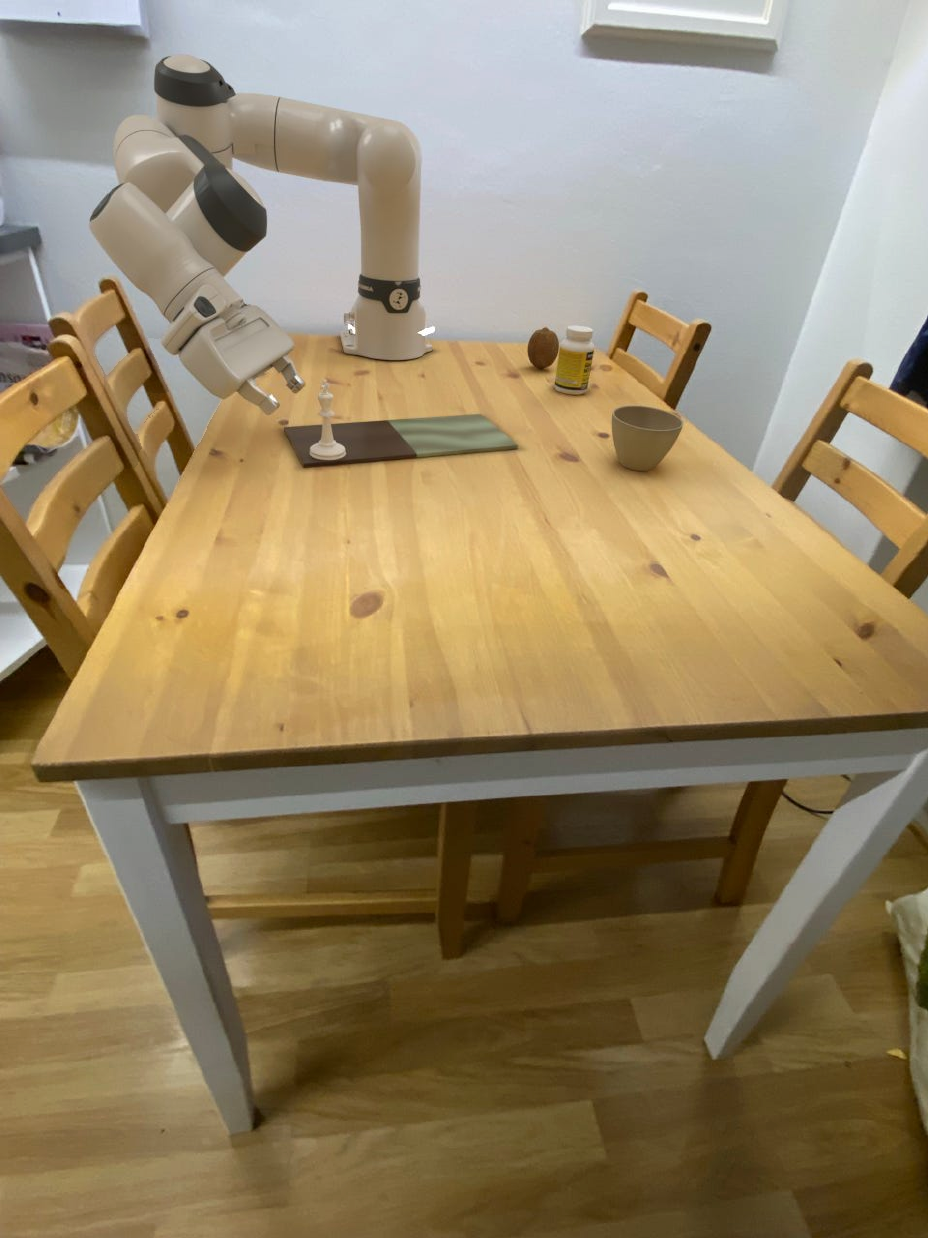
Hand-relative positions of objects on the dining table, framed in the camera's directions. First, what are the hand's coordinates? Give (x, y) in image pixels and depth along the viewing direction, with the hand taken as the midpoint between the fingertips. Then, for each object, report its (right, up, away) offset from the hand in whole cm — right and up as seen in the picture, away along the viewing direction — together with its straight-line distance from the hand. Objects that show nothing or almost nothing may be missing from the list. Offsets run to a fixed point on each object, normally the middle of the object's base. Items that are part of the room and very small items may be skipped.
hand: (288, 399), depth 93 cm
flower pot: (+49, -7, +10) cm, 50 cm away
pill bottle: (+43, +14, +38) cm, 59 cm away
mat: (+14, -2, +11) cm, 18 cm away
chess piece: (+5, -6, +4) cm, 9 cm away
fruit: (+39, +21, +49) cm, 66 cm away
